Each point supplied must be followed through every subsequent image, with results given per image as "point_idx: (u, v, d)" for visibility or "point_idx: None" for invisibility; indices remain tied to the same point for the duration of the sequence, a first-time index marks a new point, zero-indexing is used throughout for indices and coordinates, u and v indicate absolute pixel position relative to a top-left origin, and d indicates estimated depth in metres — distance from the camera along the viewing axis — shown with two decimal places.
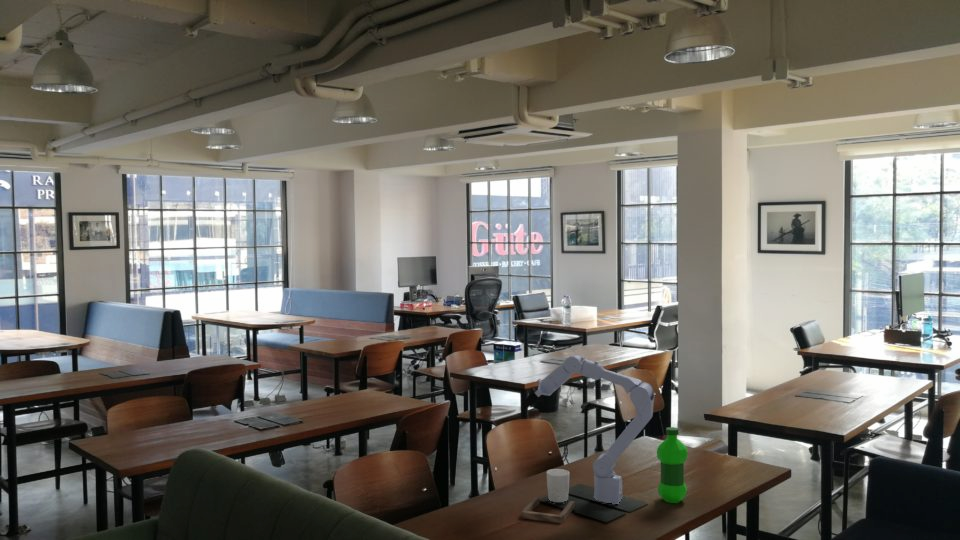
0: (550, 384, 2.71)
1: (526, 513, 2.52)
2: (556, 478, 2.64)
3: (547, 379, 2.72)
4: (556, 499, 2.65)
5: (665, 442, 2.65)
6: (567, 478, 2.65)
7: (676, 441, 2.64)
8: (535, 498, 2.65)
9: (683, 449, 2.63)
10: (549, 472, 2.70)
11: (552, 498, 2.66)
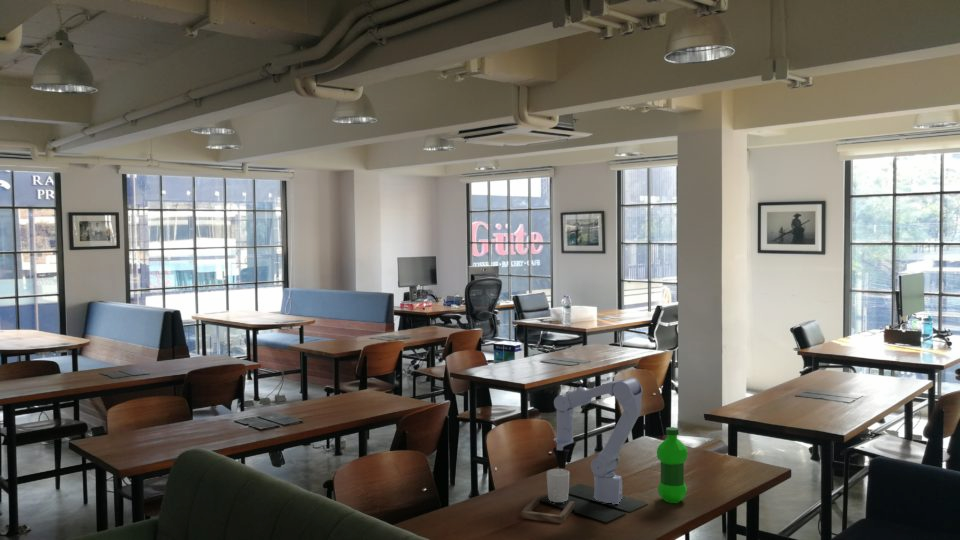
0: (563, 433, 2.74)
1: (526, 513, 2.52)
2: (556, 478, 2.64)
3: (558, 432, 2.75)
4: (556, 499, 2.65)
5: (665, 442, 2.65)
6: (567, 478, 2.65)
7: (676, 441, 2.64)
8: (535, 498, 2.65)
9: (683, 449, 2.63)
10: (549, 472, 2.70)
11: (552, 497, 2.66)
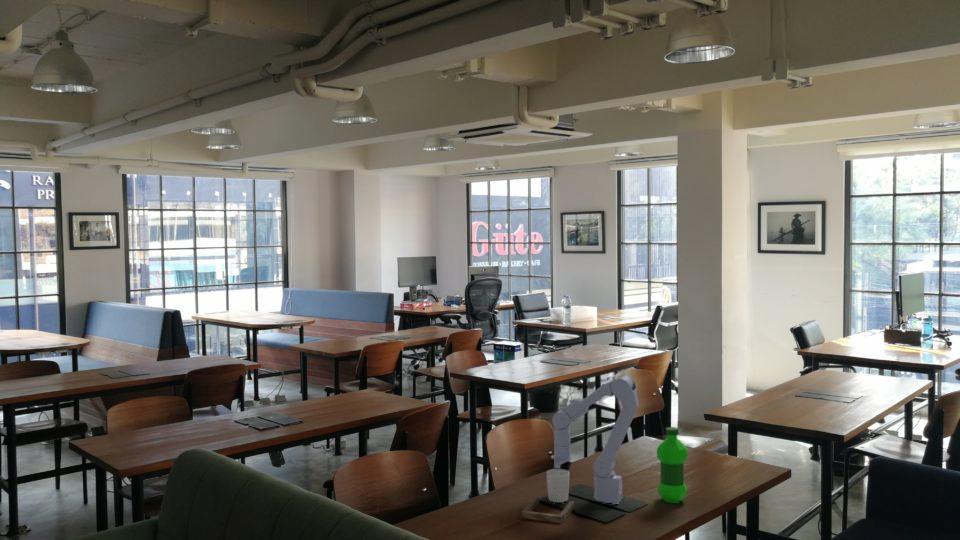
0: (560, 450, 2.71)
1: (526, 513, 2.52)
2: (556, 478, 2.64)
3: (555, 449, 2.72)
4: (556, 499, 2.65)
5: (665, 442, 2.65)
6: (567, 478, 2.65)
7: (676, 441, 2.64)
8: (535, 498, 2.65)
9: (683, 449, 2.63)
10: (549, 472, 2.70)
11: (552, 497, 2.66)
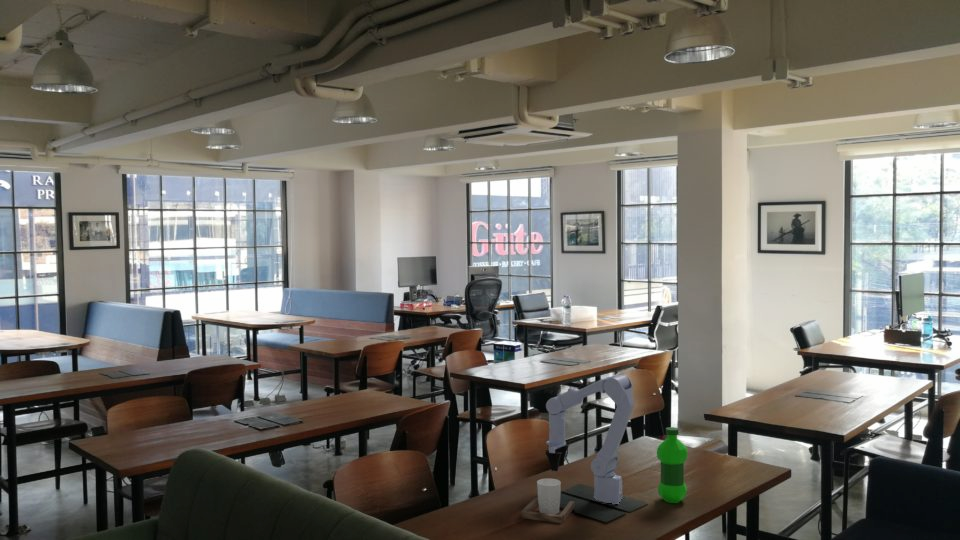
0: (555, 435, 2.75)
1: (526, 513, 2.52)
2: (547, 488, 2.54)
3: (550, 434, 2.77)
4: (547, 510, 2.55)
5: (665, 442, 2.65)
6: (558, 488, 2.55)
7: (676, 441, 2.64)
8: (535, 498, 2.65)
9: (683, 449, 2.63)
10: (539, 482, 2.60)
11: (543, 509, 2.55)
